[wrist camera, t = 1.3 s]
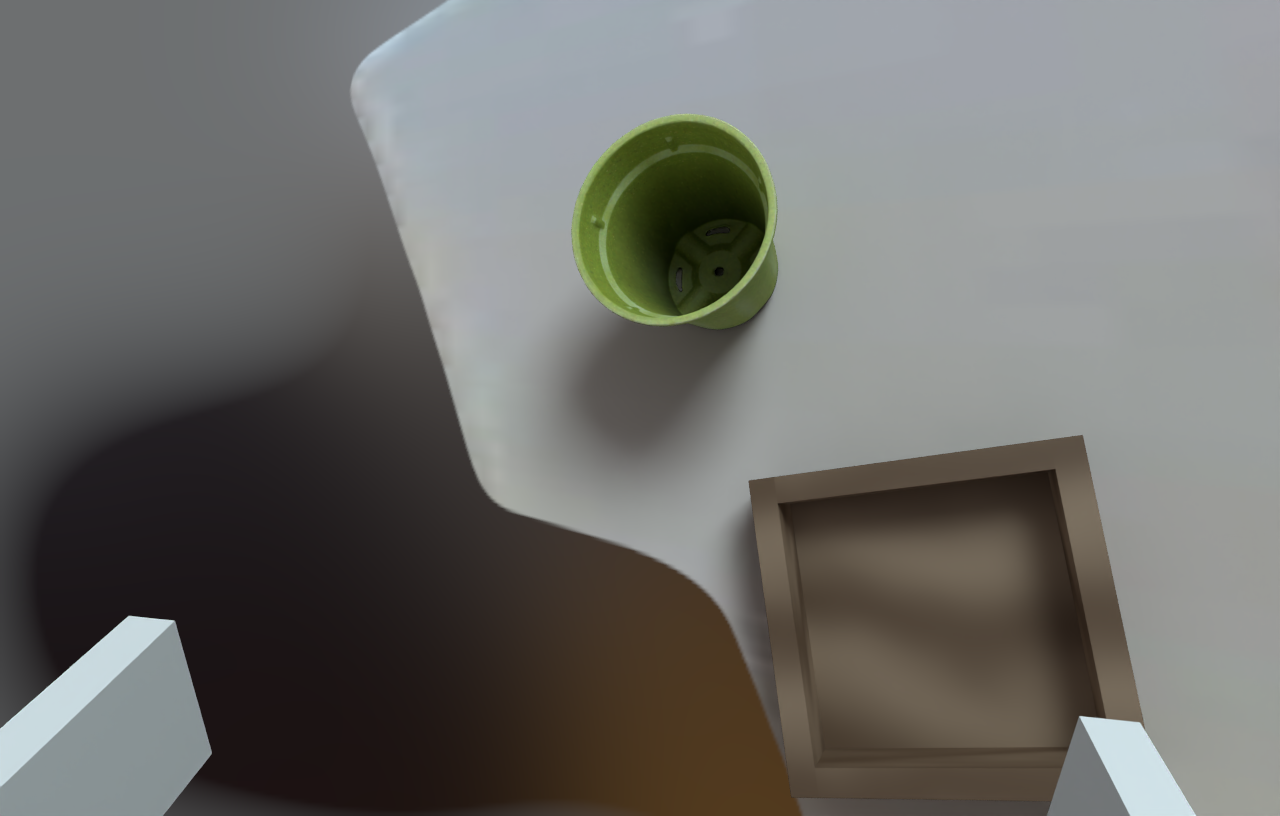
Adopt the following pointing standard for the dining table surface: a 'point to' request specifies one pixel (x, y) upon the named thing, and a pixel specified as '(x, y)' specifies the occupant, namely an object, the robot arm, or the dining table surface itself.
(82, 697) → the robot arm
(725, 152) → the plant pot
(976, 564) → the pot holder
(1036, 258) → the dining table surface
